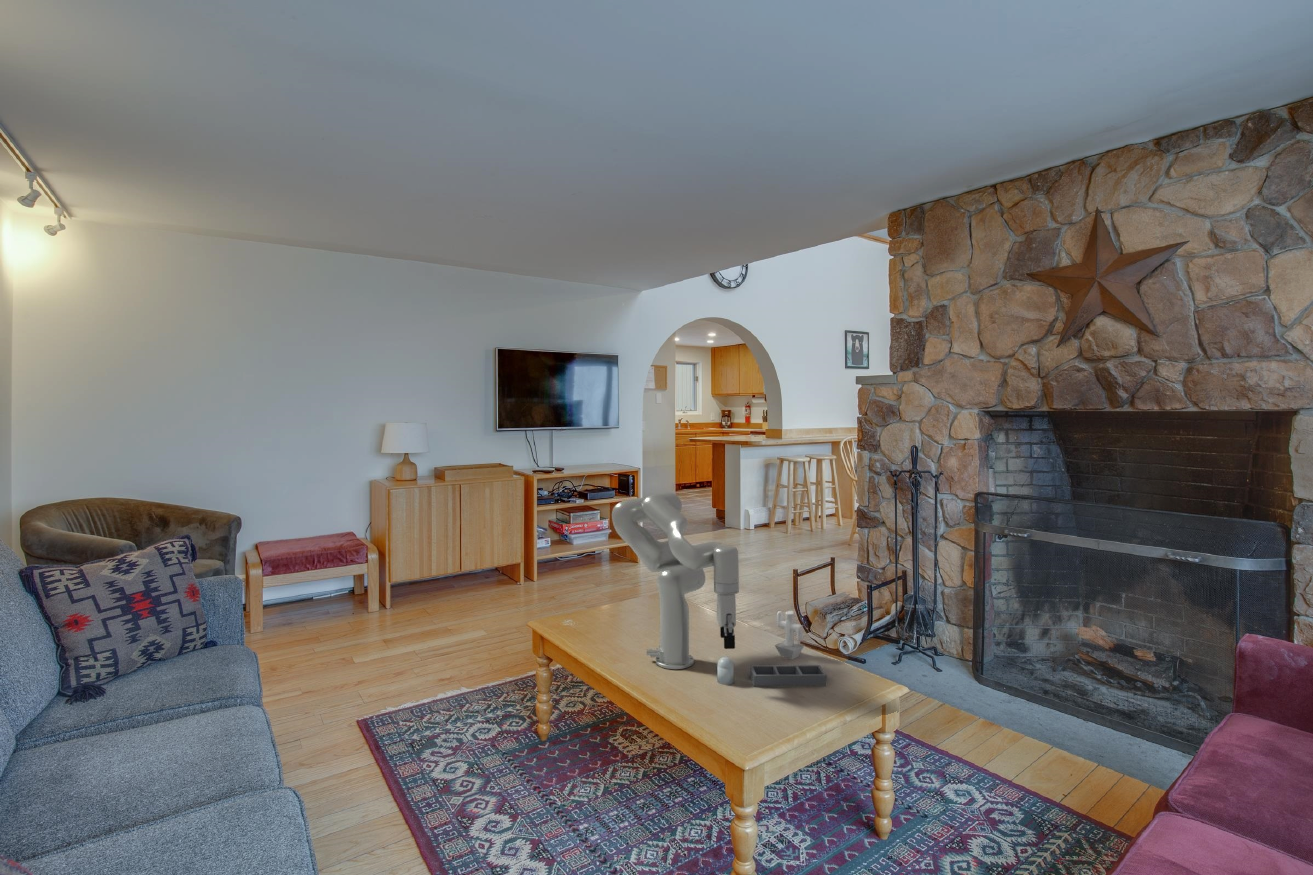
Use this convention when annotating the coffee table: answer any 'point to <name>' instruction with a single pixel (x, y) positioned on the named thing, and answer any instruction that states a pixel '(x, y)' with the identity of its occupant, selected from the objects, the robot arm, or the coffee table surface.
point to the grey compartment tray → (787, 675)
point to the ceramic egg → (725, 671)
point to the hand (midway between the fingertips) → (727, 642)
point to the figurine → (789, 636)
